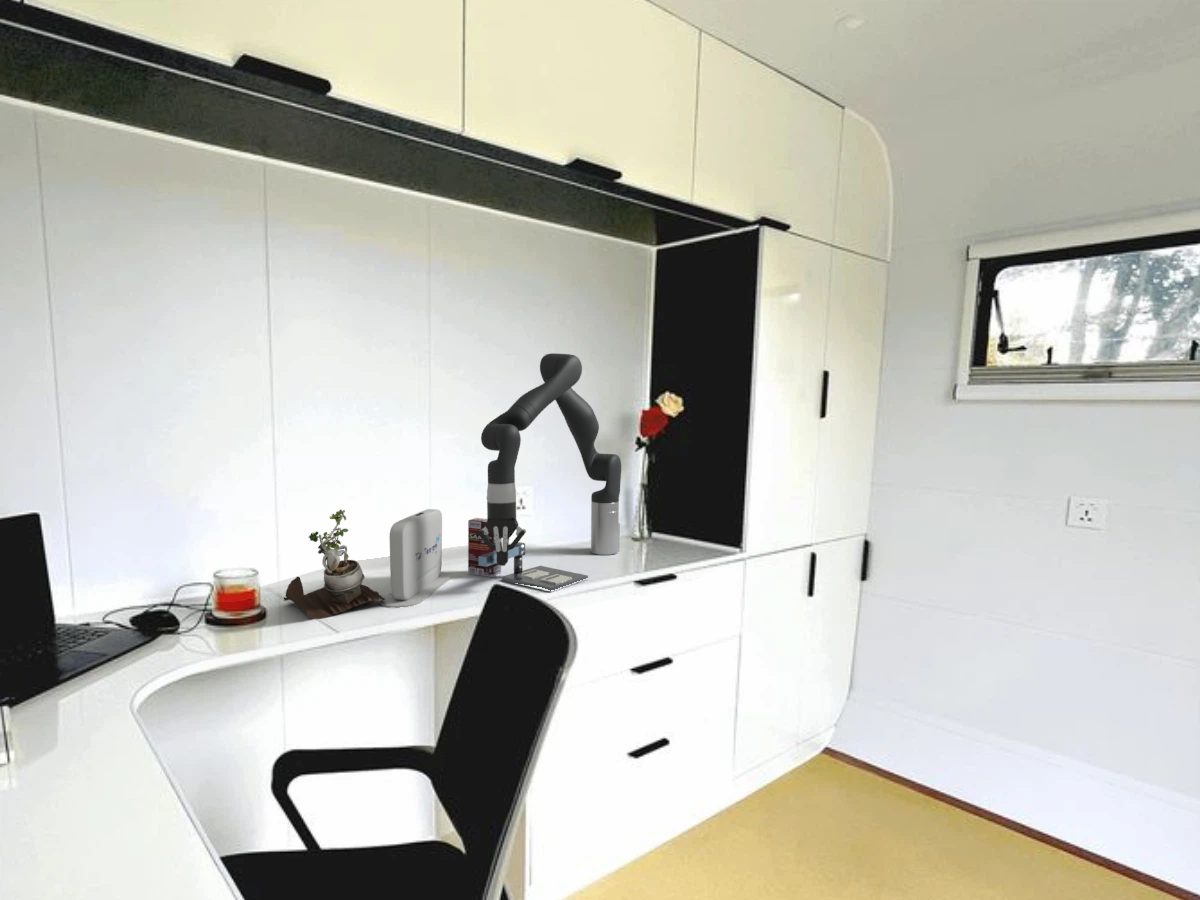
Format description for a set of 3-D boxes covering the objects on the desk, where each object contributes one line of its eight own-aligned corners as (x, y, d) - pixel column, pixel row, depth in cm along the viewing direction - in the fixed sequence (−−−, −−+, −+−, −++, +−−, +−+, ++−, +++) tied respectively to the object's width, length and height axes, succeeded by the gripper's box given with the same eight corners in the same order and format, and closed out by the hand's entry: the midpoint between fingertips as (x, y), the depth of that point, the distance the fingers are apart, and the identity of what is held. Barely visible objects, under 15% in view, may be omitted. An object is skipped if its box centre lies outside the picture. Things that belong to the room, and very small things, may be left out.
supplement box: (467, 574, 183) (467, 520, 182) (476, 570, 187) (476, 517, 186) (493, 577, 179) (493, 522, 178) (501, 573, 184) (502, 519, 183)
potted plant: (393, 611, 154) (372, 521, 145) (316, 650, 143) (288, 554, 133) (357, 582, 168) (337, 497, 159) (284, 615, 156) (257, 526, 147)
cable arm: (516, 552, 183) (516, 541, 183) (527, 553, 181) (527, 543, 181) (476, 566, 166) (476, 555, 166) (488, 568, 164) (488, 556, 164)
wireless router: (413, 608, 151) (413, 526, 150) (373, 607, 152) (372, 524, 151) (455, 575, 182) (455, 506, 181) (422, 574, 183) (421, 505, 182)
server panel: (538, 569, 190) (538, 548, 189) (587, 579, 178) (588, 558, 178) (499, 580, 177) (499, 558, 176) (550, 592, 166) (550, 569, 165)
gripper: (528, 498, 170) (529, 561, 171) (479, 498, 170) (480, 561, 171) (524, 502, 162) (525, 568, 163) (473, 502, 163) (474, 568, 164)
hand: (502, 564), depth 167 cm, fingers closed
